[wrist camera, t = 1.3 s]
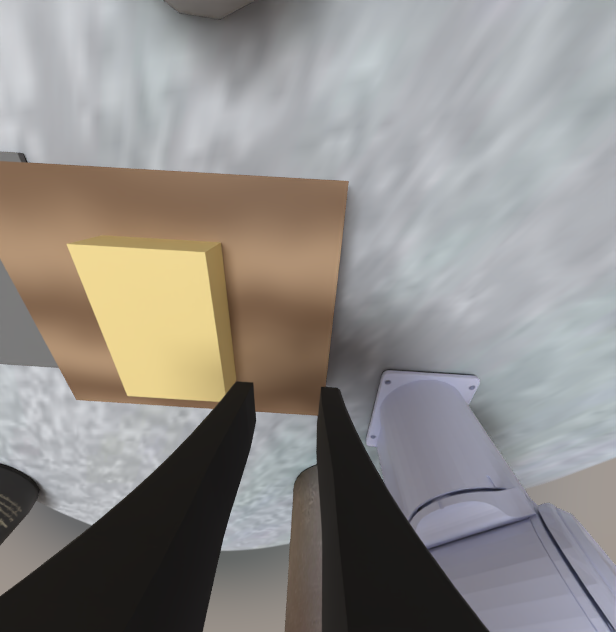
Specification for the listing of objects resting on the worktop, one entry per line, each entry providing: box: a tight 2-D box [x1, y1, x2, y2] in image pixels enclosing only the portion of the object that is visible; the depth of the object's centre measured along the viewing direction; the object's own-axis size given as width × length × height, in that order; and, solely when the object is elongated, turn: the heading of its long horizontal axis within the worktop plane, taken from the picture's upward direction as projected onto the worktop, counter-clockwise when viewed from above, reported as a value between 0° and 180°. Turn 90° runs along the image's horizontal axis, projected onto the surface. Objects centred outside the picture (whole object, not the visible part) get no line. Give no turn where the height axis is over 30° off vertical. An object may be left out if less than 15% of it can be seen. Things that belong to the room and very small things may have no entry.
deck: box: [0, 161, 349, 416], centre depth 16 cm, size 15×18×4 cm
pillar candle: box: [285, 465, 322, 632], centre depth 23 cm, size 10×10×15 cm
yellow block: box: [67, 235, 236, 402], centre depth 14 cm, size 9×6×2 cm, turn 177°
